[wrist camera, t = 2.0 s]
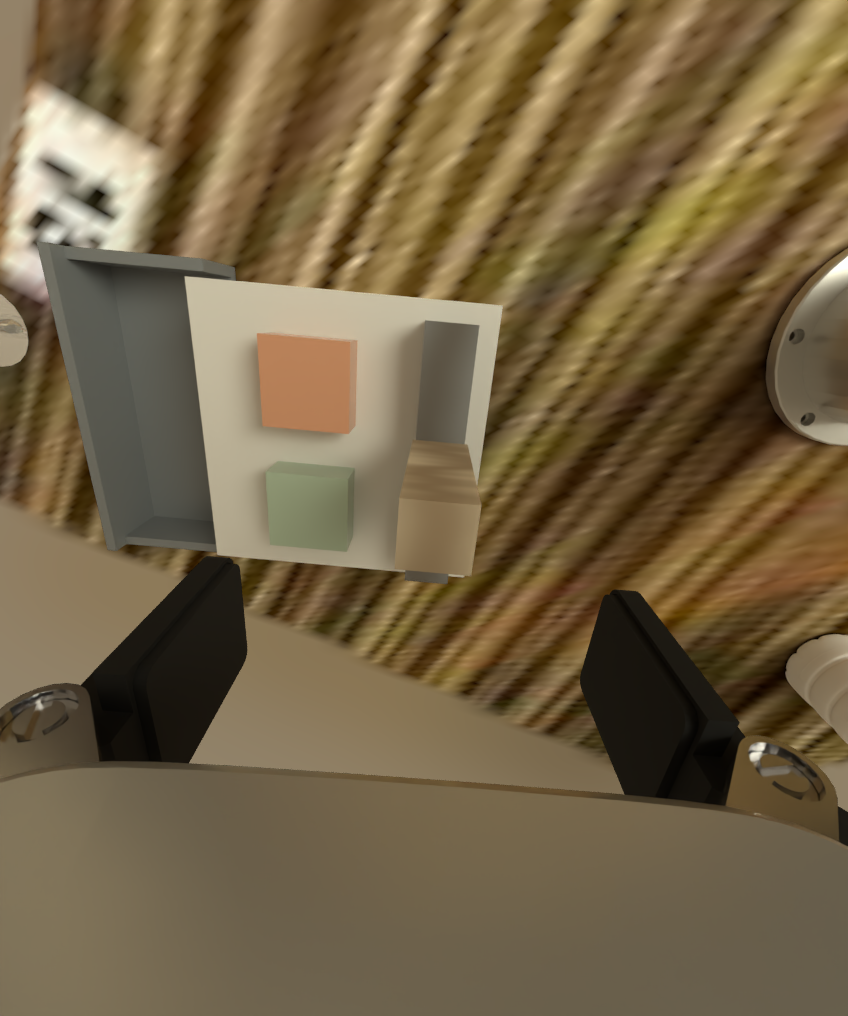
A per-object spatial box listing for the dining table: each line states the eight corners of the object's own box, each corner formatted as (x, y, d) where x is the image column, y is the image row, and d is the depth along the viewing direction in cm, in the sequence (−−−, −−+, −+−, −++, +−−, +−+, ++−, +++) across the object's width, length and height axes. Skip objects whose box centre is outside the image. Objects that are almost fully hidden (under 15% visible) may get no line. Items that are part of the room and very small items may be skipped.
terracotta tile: (357, 340, 23) (350, 341, 21) (355, 425, 24) (348, 434, 23) (271, 332, 23) (256, 333, 21) (275, 418, 24) (262, 426, 23)
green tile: (354, 467, 25) (348, 479, 24) (353, 536, 27) (346, 551, 25) (278, 460, 25) (265, 471, 24) (281, 529, 27) (269, 545, 25)
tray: (234, 267, 27) (192, 256, 22) (254, 528, 34) (225, 560, 29) (105, 255, 27) (36, 241, 22) (152, 519, 34) (107, 550, 29)
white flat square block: (490, 309, 27) (502, 305, 22) (460, 535, 34) (464, 577, 28) (235, 285, 27) (184, 276, 22) (254, 516, 34) (217, 555, 28)
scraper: (478, 325, 22) (507, 327, 13) (448, 562, 28) (453, 690, 18) (423, 320, 22) (411, 318, 13) (405, 558, 28) (386, 684, 18)
